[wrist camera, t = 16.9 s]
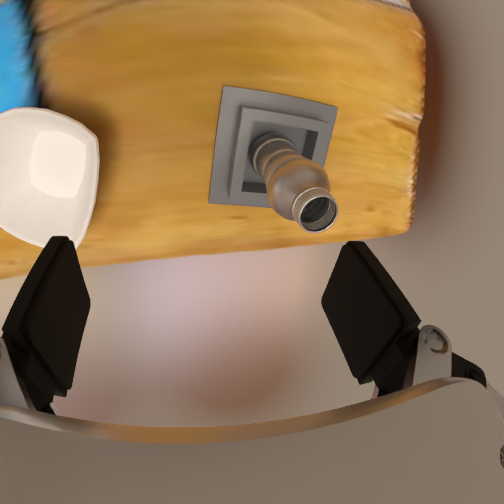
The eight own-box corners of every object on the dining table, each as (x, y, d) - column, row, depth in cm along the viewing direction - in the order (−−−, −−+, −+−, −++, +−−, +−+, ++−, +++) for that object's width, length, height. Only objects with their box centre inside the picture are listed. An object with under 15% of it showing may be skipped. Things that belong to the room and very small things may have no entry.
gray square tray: (223, 85, 33) (225, 86, 29) (335, 106, 37) (350, 111, 33) (208, 200, 43) (209, 215, 39) (309, 209, 47) (319, 223, 43)
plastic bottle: (299, 151, 39) (366, 212, 23) (266, 180, 42) (310, 259, 25) (271, 121, 36) (328, 161, 20) (237, 152, 38) (264, 217, 22)
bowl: (131, 117, 33) (113, 127, 26) (100, 233, 43) (85, 263, 36) (24, 91, 26) (-7, 99, 19) (9, 202, 35) (-15, 226, 28)
